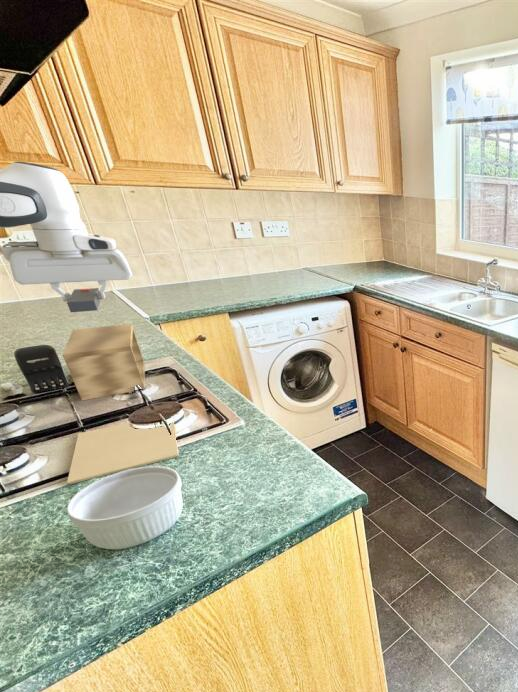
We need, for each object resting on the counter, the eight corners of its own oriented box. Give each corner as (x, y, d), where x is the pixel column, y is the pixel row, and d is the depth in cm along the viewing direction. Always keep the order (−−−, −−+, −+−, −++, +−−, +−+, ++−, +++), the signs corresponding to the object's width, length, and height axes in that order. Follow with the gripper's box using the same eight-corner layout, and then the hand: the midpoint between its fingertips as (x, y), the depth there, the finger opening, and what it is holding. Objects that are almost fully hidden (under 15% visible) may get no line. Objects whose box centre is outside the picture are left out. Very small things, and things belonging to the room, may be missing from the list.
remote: (70, 312, 97) (66, 301, 96) (77, 298, 108) (73, 288, 106) (97, 310, 100) (93, 299, 99) (101, 297, 110) (98, 286, 109)
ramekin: (195, 489, 76) (185, 457, 73) (184, 539, 65) (172, 505, 62) (98, 510, 70) (83, 477, 67) (69, 569, 59) (50, 532, 56)
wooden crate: (81, 400, 102) (62, 354, 97) (89, 371, 116) (72, 330, 111) (145, 389, 109) (130, 346, 104) (144, 363, 123) (131, 323, 118)
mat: (67, 484, 75) (66, 482, 75) (79, 435, 89) (78, 433, 89) (178, 456, 84) (178, 454, 84) (173, 415, 98) (172, 413, 98)
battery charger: (31, 395, 102) (10, 352, 98) (30, 390, 105) (10, 347, 100) (71, 388, 107) (53, 346, 102) (69, 383, 109) (52, 341, 105)
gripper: (-6, 243, 89) (21, 307, 95) (121, 242, 101) (138, 298, 107) (0, 240, 94) (26, 300, 99) (122, 239, 106) (138, 293, 111)
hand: (85, 299), depth 103 cm, fingers closed on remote, 4 cm apart
